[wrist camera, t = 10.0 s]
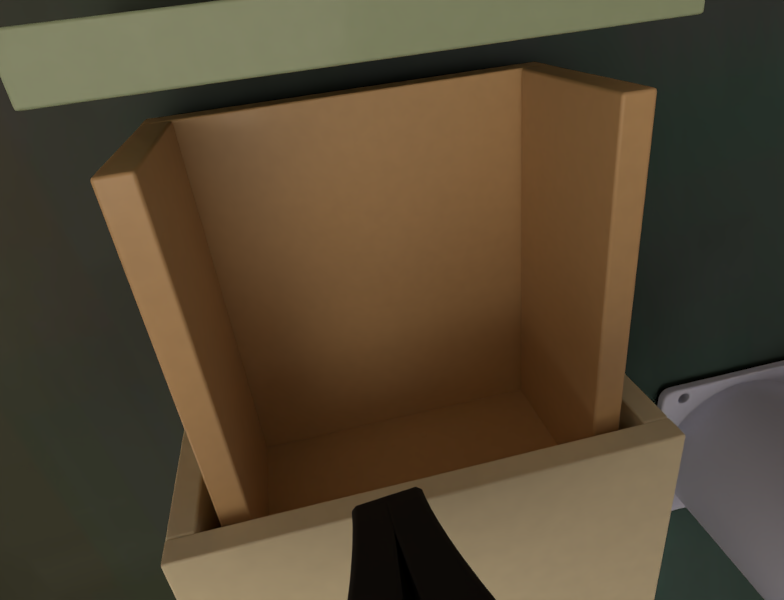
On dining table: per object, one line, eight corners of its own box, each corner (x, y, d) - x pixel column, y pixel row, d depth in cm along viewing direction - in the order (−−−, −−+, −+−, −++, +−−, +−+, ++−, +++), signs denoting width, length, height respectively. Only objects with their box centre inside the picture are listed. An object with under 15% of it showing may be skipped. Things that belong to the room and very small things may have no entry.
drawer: (15, -197, 12) (-187, -364, 6) (560, -238, 13) (763, -399, 8) (232, 452, 21) (223, 609, 15) (543, 381, 22) (634, 501, 17)
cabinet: (193, 370, 20) (159, 566, 13) (550, 296, 22) (686, 434, 15) (282, 627, 27) (290, 838, 21) (541, 557, 29) (630, 729, 22)
